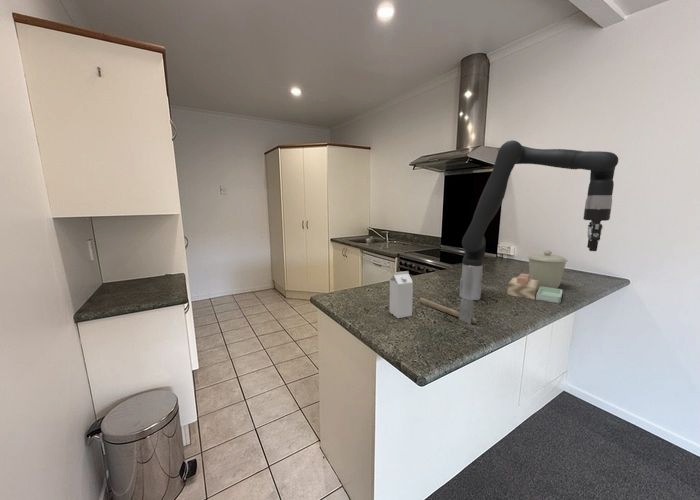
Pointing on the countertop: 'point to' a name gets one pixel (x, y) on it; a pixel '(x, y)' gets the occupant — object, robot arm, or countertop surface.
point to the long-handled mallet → (464, 314)
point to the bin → (549, 294)
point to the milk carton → (401, 294)
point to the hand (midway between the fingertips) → (591, 249)
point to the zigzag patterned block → (523, 288)
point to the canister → (547, 269)
